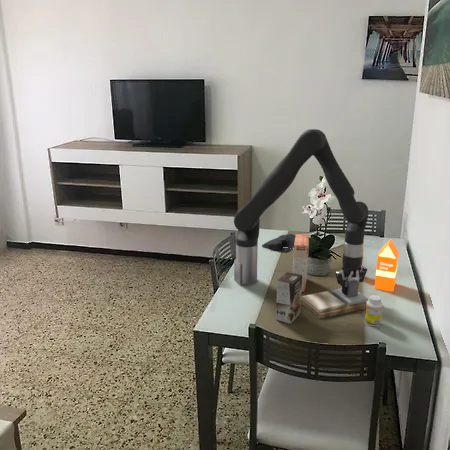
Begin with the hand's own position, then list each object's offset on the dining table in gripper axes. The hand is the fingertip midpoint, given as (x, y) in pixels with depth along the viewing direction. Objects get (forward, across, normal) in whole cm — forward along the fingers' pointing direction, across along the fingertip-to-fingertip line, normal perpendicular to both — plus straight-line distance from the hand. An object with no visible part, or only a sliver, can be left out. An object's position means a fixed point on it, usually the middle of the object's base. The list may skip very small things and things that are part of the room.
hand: (349, 292), depth 188 cm
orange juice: (+3, -22, -5) cm, 23 cm away
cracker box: (+4, +11, -20) cm, 23 cm away
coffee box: (+4, +29, +2) cm, 29 cm away
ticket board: (+3, +8, 0) cm, 8 cm away
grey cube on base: (+2, 0, 0) cm, 2 cm away
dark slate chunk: (+4, -7, -67) cm, 67 cm away
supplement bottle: (+3, +3, +18) cm, 19 cm away
